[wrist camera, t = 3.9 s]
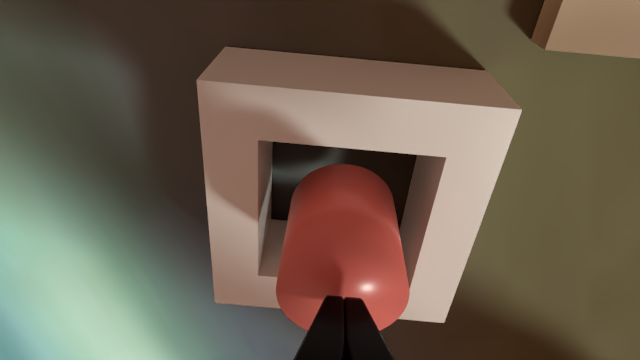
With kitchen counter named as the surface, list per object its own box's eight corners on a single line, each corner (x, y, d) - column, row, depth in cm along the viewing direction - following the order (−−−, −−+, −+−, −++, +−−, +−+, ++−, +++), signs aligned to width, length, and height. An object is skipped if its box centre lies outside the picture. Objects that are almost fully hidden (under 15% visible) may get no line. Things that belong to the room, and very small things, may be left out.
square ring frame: (429, 262, 17) (444, 322, 15) (233, 244, 17) (214, 302, 15) (486, 70, 13) (522, 109, 10) (225, 46, 13) (196, 79, 10)
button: (382, 232, 15) (396, 342, 11) (291, 223, 15) (274, 332, 11) (399, 152, 13) (422, 251, 9) (296, 143, 13) (277, 238, 9)
